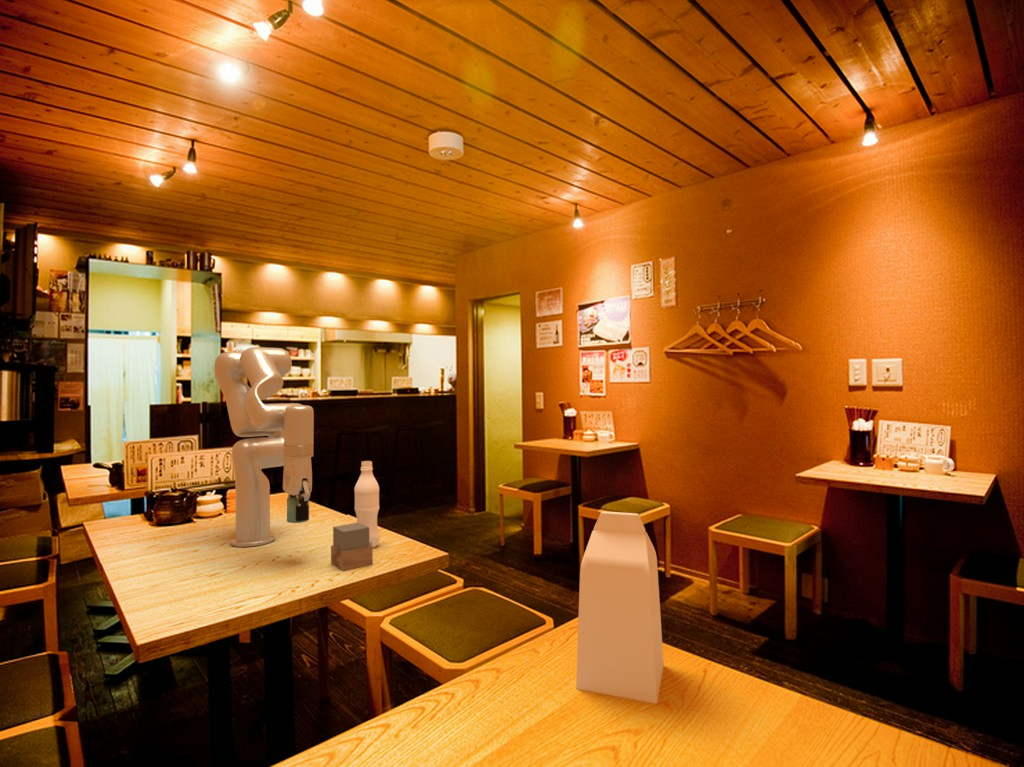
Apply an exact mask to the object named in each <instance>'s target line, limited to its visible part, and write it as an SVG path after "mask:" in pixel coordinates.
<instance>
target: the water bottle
mask: <svg viewBox="0 0 1024 767" xmlns="http://www.w3.org/2000/svg"><path fill="white" fill-rule="evenodd" d="M373 470H374V468H373V461H371V460H365V461H364V460H363V461H361V466H360V475H359V477H358V480H357V482H356V483H355V486H354V488H353V489H354V491H353V492H354V512H355V515H356V523H360V524H363V525H365V526H367V527H369V545H371V546H372V549H373V548H376V547H377V546H378V543H379V541H380V537H381V534H380V531H379V528H378V514H379V510H380V508H381V507H380V486H379V483H378V481H377V479H376V477H375V476H374V473H373Z"/></svg>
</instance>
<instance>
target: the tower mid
mask: <svg viewBox="0 0 1024 767" xmlns="http://www.w3.org/2000/svg"><path fill="white" fill-rule="evenodd" d="M332 539H333V540H332V541H333V542H332V545H333V546H335V547H337V548H338V549H340V550H342V551H349V550H354V549H359V548H364V547H369V527H367V526H365V525H363V524H360V523H357V522H353V523H348V524H343V525H341V524H340V525H336V526H333V527H332Z"/></svg>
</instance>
